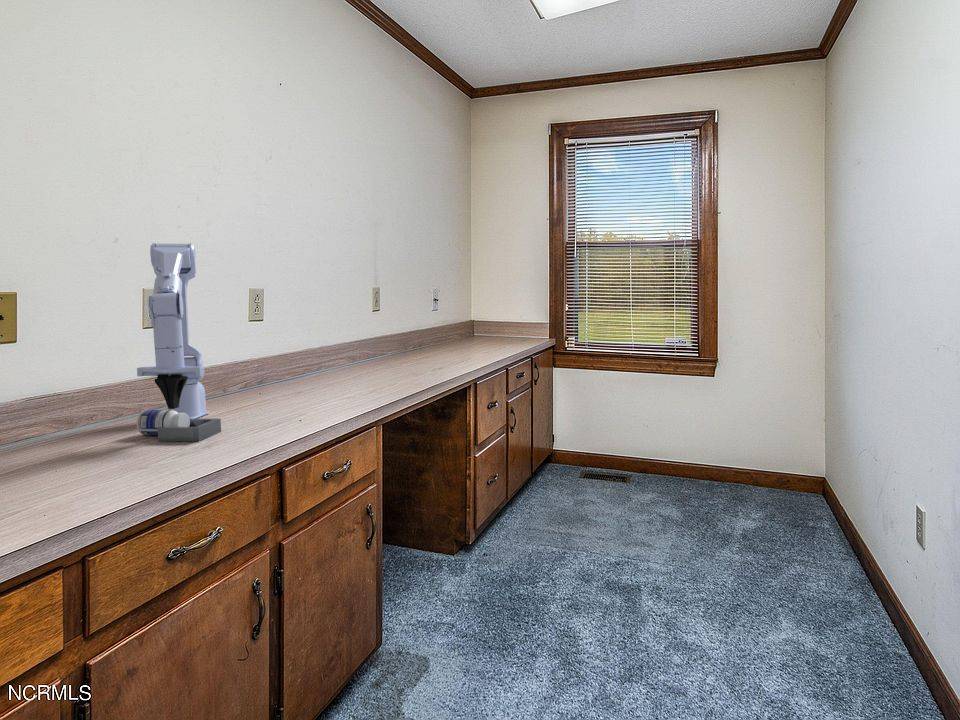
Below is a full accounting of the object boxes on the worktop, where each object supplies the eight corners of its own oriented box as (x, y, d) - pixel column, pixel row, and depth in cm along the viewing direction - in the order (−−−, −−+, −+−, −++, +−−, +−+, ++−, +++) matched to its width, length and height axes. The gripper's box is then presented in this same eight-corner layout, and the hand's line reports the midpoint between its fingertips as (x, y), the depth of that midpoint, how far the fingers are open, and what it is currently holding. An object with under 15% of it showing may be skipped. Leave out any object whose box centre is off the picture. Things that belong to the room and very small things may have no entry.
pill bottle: (155, 423, 150) (194, 424, 148) (141, 440, 145) (182, 441, 144) (146, 404, 147) (186, 405, 145) (131, 420, 142) (173, 422, 141)
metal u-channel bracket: (183, 431, 149) (182, 418, 149) (221, 431, 149) (220, 418, 148) (158, 441, 139) (157, 427, 139) (199, 441, 139) (198, 428, 138)
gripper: (126, 349, 139) (131, 411, 140) (191, 349, 137) (195, 411, 139) (146, 346, 146) (150, 405, 147) (207, 345, 144) (211, 405, 146)
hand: (173, 408), depth 144 cm, fingers closed
